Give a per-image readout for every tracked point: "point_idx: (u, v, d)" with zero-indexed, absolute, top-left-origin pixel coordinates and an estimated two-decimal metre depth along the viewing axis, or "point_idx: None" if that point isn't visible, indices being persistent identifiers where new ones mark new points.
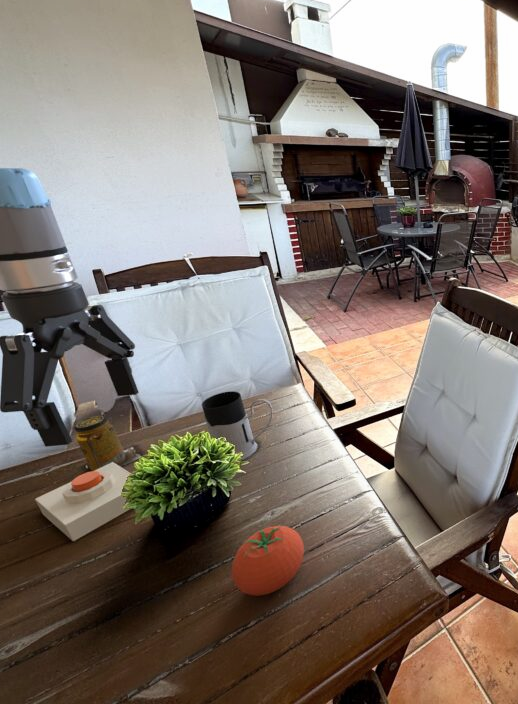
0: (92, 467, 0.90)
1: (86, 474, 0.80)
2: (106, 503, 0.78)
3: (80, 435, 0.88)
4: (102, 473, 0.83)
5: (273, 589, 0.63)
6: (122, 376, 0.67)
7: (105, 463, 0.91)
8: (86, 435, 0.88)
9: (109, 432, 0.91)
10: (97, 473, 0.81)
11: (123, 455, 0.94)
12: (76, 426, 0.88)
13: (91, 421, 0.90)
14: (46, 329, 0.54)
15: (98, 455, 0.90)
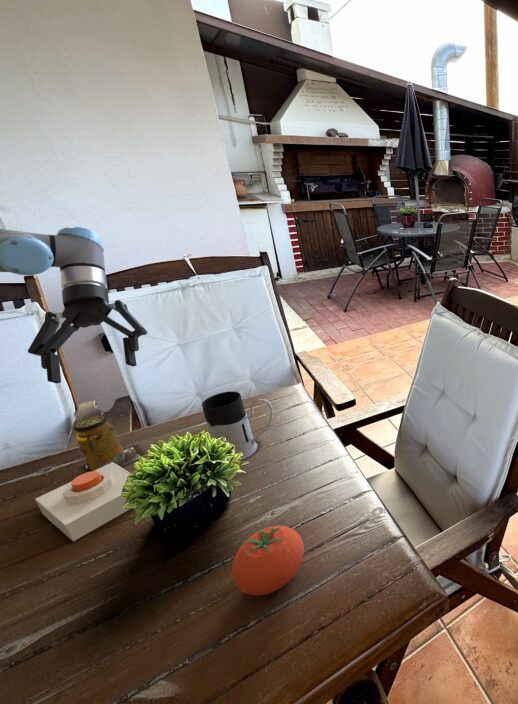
0: (92, 467, 0.90)
1: (86, 474, 0.80)
2: (106, 503, 0.78)
3: (80, 435, 0.88)
4: (102, 473, 0.83)
5: (273, 589, 0.63)
6: (56, 366, 0.89)
7: (105, 463, 0.91)
8: (86, 435, 0.88)
9: (109, 432, 0.91)
10: (97, 473, 0.81)
11: (123, 455, 0.94)
12: (76, 426, 0.88)
13: (91, 421, 0.90)
14: None
15: (98, 455, 0.90)
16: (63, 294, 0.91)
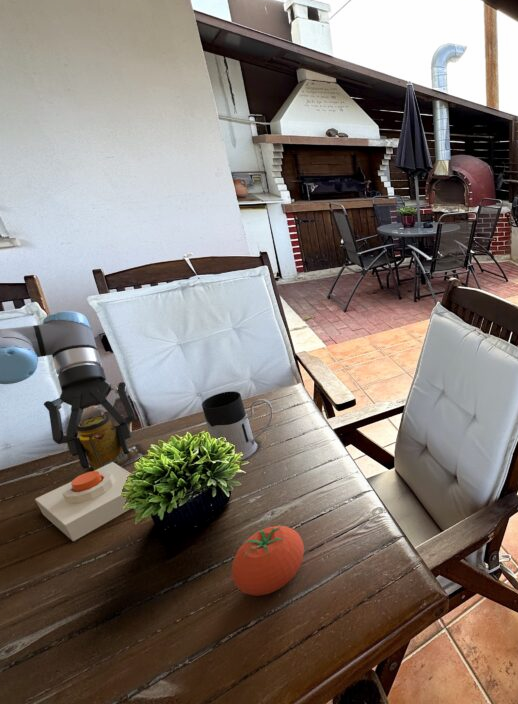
0: (94, 466, 0.91)
1: (86, 474, 0.80)
2: (106, 503, 0.78)
3: (82, 434, 0.88)
4: (102, 473, 0.83)
5: (273, 589, 0.63)
6: (84, 451, 0.89)
7: (107, 462, 0.91)
8: (88, 435, 0.88)
9: (111, 432, 0.91)
10: (97, 473, 0.81)
11: (125, 455, 0.95)
12: (78, 425, 0.88)
13: (93, 421, 0.90)
14: None
15: (101, 455, 0.90)
16: (63, 377, 0.91)
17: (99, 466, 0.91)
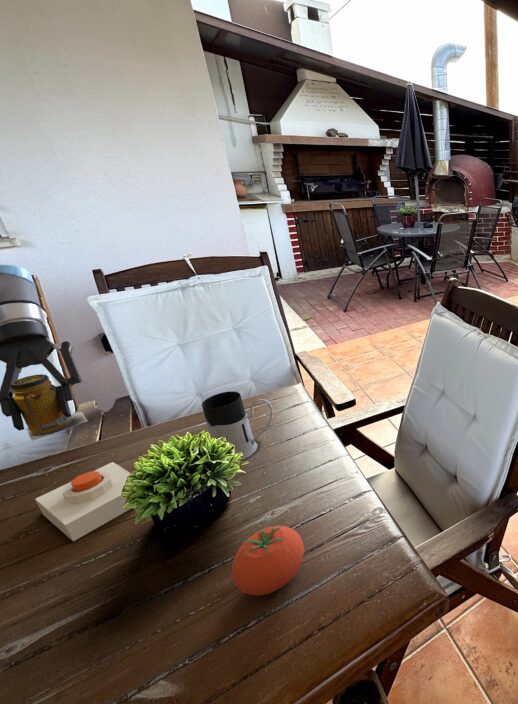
0: (31, 429, 0.84)
1: (86, 474, 0.80)
2: (106, 503, 0.78)
3: (16, 393, 0.81)
4: (102, 473, 0.83)
5: (273, 589, 0.63)
6: (19, 412, 0.83)
7: (46, 425, 0.84)
8: (23, 393, 0.81)
9: (49, 392, 0.84)
10: (97, 473, 0.81)
11: (67, 418, 0.88)
12: (12, 384, 0.81)
13: (30, 379, 0.83)
14: None
15: (38, 416, 0.83)
16: None
17: (36, 429, 0.84)
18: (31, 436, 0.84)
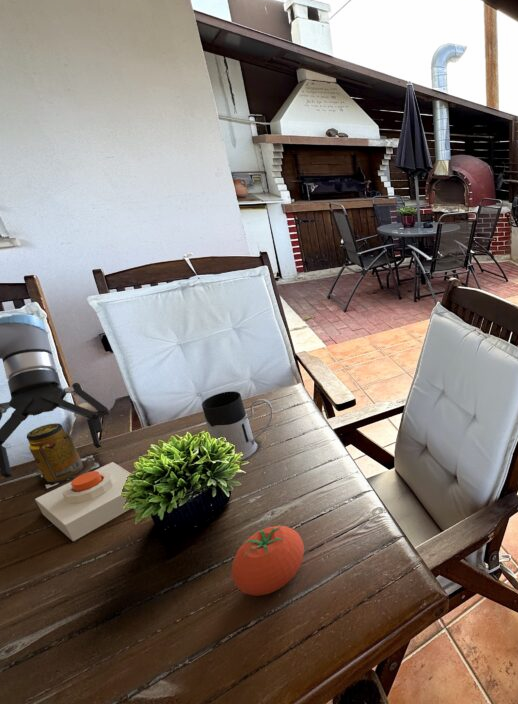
0: (46, 477, 0.88)
1: (86, 474, 0.80)
2: (106, 503, 0.78)
3: (32, 444, 0.85)
4: (102, 473, 0.83)
5: (273, 589, 0.63)
6: (6, 459, 0.84)
7: (60, 472, 0.88)
8: (38, 444, 0.85)
9: (63, 441, 0.88)
10: (97, 473, 0.81)
11: (80, 464, 0.92)
12: (28, 434, 0.85)
13: (45, 429, 0.87)
14: None
15: (52, 465, 0.87)
16: (12, 382, 0.88)
17: (51, 476, 0.88)
18: None
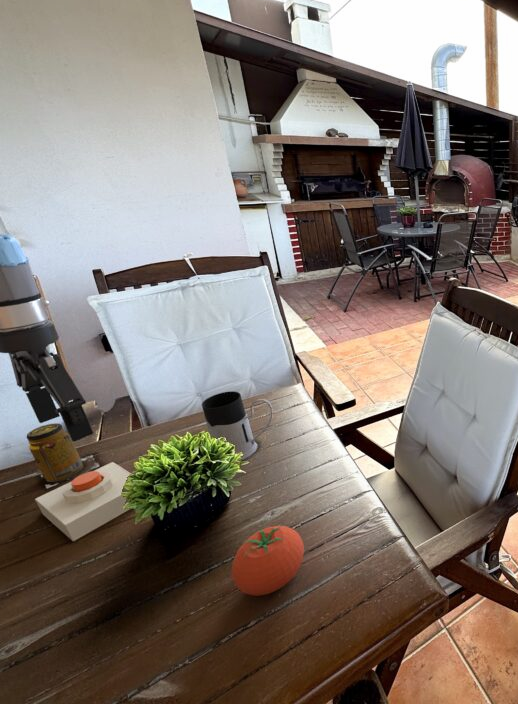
0: (46, 477, 0.88)
1: (86, 474, 0.80)
2: (106, 503, 0.78)
3: (32, 444, 0.85)
4: (102, 473, 0.83)
5: (273, 589, 0.63)
6: (46, 402, 0.78)
7: (60, 472, 0.88)
8: (38, 444, 0.85)
9: (63, 441, 0.88)
10: (97, 473, 0.81)
11: (80, 464, 0.92)
12: (28, 434, 0.85)
13: (45, 429, 0.87)
14: None
15: (52, 465, 0.87)
16: None
17: (51, 476, 0.88)
18: None
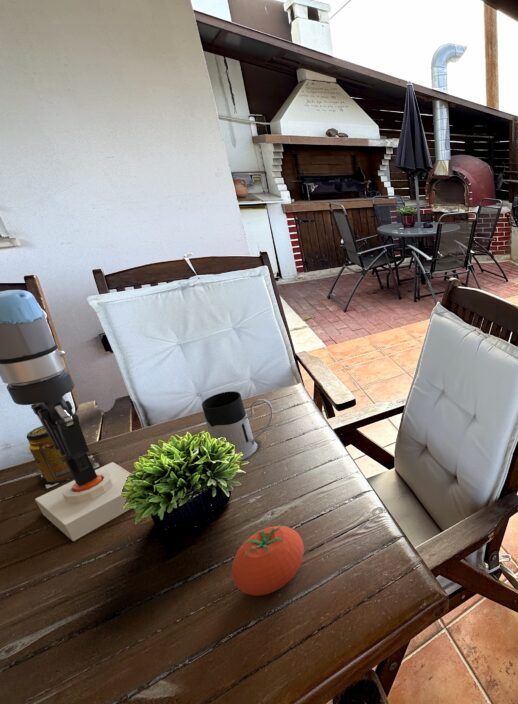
0: (46, 477, 0.88)
1: None
2: (106, 503, 0.78)
3: (32, 444, 0.85)
4: (102, 473, 0.83)
5: (273, 589, 0.63)
6: None
7: (60, 472, 0.88)
8: (38, 444, 0.85)
9: None
10: (99, 476, 0.81)
11: None
12: (28, 434, 0.85)
13: None
14: (64, 402, 0.73)
15: (52, 465, 0.87)
16: None
17: (51, 476, 0.88)
18: None
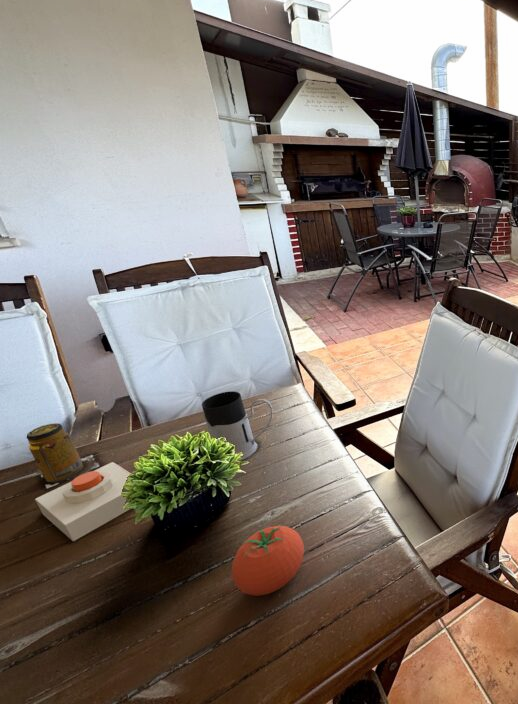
0: (46, 477, 0.88)
1: (86, 474, 0.80)
2: (106, 503, 0.78)
3: (32, 444, 0.85)
4: (102, 473, 0.83)
5: (273, 589, 0.63)
6: None
7: (60, 472, 0.88)
8: (38, 444, 0.85)
9: (63, 441, 0.88)
10: (97, 473, 0.81)
11: (80, 464, 0.92)
12: (28, 434, 0.85)
13: (45, 429, 0.87)
14: None
15: (52, 465, 0.87)
16: None
17: (51, 476, 0.88)
18: None
